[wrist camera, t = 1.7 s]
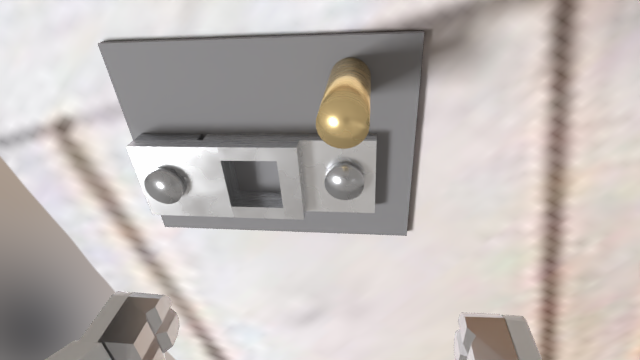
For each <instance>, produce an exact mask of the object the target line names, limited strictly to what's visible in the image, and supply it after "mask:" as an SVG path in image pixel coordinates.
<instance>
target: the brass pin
mask: <svg viewBox="0 0 640 360" xmlns="http://www.w3.org/2000/svg"><path fill="white" fill-rule="evenodd" d="M370 97H371V73H370V70H369V68H368V66H367V65H366V64H365V63H364V62H363V61H361V60H360V59H357V58H352V57H349V58H344V59H341V60H340V61H338V62H337V63H336V64H335V65H334V66H333V68H332V70H331V73H330V76H329V79H328V82H327V86H326V89H325V92H324V95H323V98H322V102H321V105H320V108H319V111H318V114H317V118H316V129H317V132H318V135H319V136H320V138H321V139H322V140H323V141H324V142H325V143H326V144H328V145H330V146H332V147H335V148H339V149H348V148H352V147H355V146H357V145H359V144H360V143H361V142H362V141H363V140H364V139H365V138H366V136H367V134H368V132H369V127H370Z"/></svg>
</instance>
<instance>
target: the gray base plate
mask: <svg viewBox="0 0 640 360" xmlns="http://www.w3.org/2000/svg"><path fill="white" fill-rule="evenodd" d="M423 43H424V31H404V32H374V33H345V34H315V35H286V36H257V37H227V38H198V39H168V40H139V41H109V42H101V43H98V46H99V49H100V51H101V54H102V57H103V60H104V62H105V65H106V68H107V70H108V73H109V76H110V79H111V81H112V84H113V87H114V89H115V92H116V95H117V98H118V100H119V103H120V106H121V108H122V111H123V114H124V116H125V119H126V122H127V125H128V127H129V130H130V133H131V135H132V138H133V140H134V139H136V138H137V137H138V136H139V135H140V134H141V133H197V134H202V135H203V139H204V138H205V136H206V135H207V134H318V132H317V129H316V118H317V114H318V111H319V108H320V105H321V102H322V98H323V95H324V92H325V89H326V86H327V82H328V79H329V76H330V73H331V70H332V68H333V66H334V65H335V64H336V63H337V62H338V61H340V60H341V59H344V58H349V57H352V58H357V59H360V60H361V61H363V62H364V63H365V64H366V65H367V66H368V68H369V70H370V73H371V97H370V127H369V132H368V134H377V144H376V182H375V213H354V212H321V211H306V214H305V218H304V220H298V219H267V218H237V217H206V216H175V215H161V217H162V220H163V222H164V225H165V227H186V228H213V229H240V230H267V231H294V232H321V233H348V234H375V235H403V236H407V225H408V213H409V202H410V191H411V179H412V168H413V157H414V145H415V134H416V123H417V111H418V100H419V89H420V77H421V66H422V55H423ZM233 163H234V168H235V172H236V177H237V182H238V186H239V191H277V192H281V189H280V182H279V175H278V167H277V161H233Z"/></svg>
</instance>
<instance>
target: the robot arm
mask: <svg viewBox="0 0 640 360" xmlns="http://www.w3.org/2000/svg"><path fill="white" fill-rule="evenodd" d="M171 305H172V301H171V299H170V297H169V295H158V294H146V293H135V292H121V291H118V292H116V293H115V294H113V295H112V296H111V297H110V299H109V300H108V301H107V303H106V304H105V306H104V307H103V308H102V310H101V311H100V313H99V314H98V315H97V317H96V318H95V319H94V321H93V322H92V323H91V325H90V326H89V328H88V329H87V330H86V332H85V333H84V335H83V336H82V337H81V339H80V340H79V341H73V342H71V343H70V344H68V345H67V346H65V347H64V348H62V349H61V350H59V351H58V352H56V353H55V354H53V355H52V356H50V357H49V358H47V359H45V360H166V359H165V354H164V353H165V352H166V351H167V350H168V349H170V348H171V347H172V346H173V345H174V342H175V340H176V338H177V335H178V330H179V318H178V315H177V313H176V312H175V311H173V310H172V309H171V308H170V307H171ZM458 323H459V328H460V329H459V330H457V331H456V333H455V338H454V355H455V360H542V358H541V356H540V353H539V351H538V348H537V346H536V343H535V341H534V338H533V336H532V333H531V331H530V328H529V326H528V323H527V321H526V319H525V318H524V317H523V316H514V315H500V314H485V313H463V312H462V313H461V314H460V315H459V319H458Z"/></svg>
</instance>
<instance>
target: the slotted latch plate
mask: <svg viewBox="0 0 640 360" xmlns="http://www.w3.org/2000/svg"><path fill="white" fill-rule="evenodd" d="M376 144H377V134H367V136H366V138H365V139H364V140H363V141H362V142H361V143H360V144H359V145H357V146H355V147H352V148H348V149H339V148H335V147H332V146H330V145H328V144H326V143H325V142H324V141H323V140H322V139H321V138H320V136H319V135H318V134H207V135H206V136H205V138H204V139H203V135H202V134H197V133H141V134H140V135H139V136H138V137H137V138H136V139H134V140H133V141H132V142H131V143H130V144H129V145H128V146H126V147H127V150H128V153H129V155H130V158H131V160H132V163H133V166H134V168H135V171H136V173H137V176H138V179H139V181H140V184H141V186H142V189H143V192H144V194H145V197H146V199H147V202H148V205H149V207H150V210H151V212H152V215H175V216H206V217H237V218H267V219H298V220H304V218H305V214H306V211H321V212H354V213H375V182H376ZM233 161H277V167H278V175H279V182H280V189H281V192H277V191H239V186H238V182H237V177H236V172H235V168H234V163H233Z"/></svg>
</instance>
